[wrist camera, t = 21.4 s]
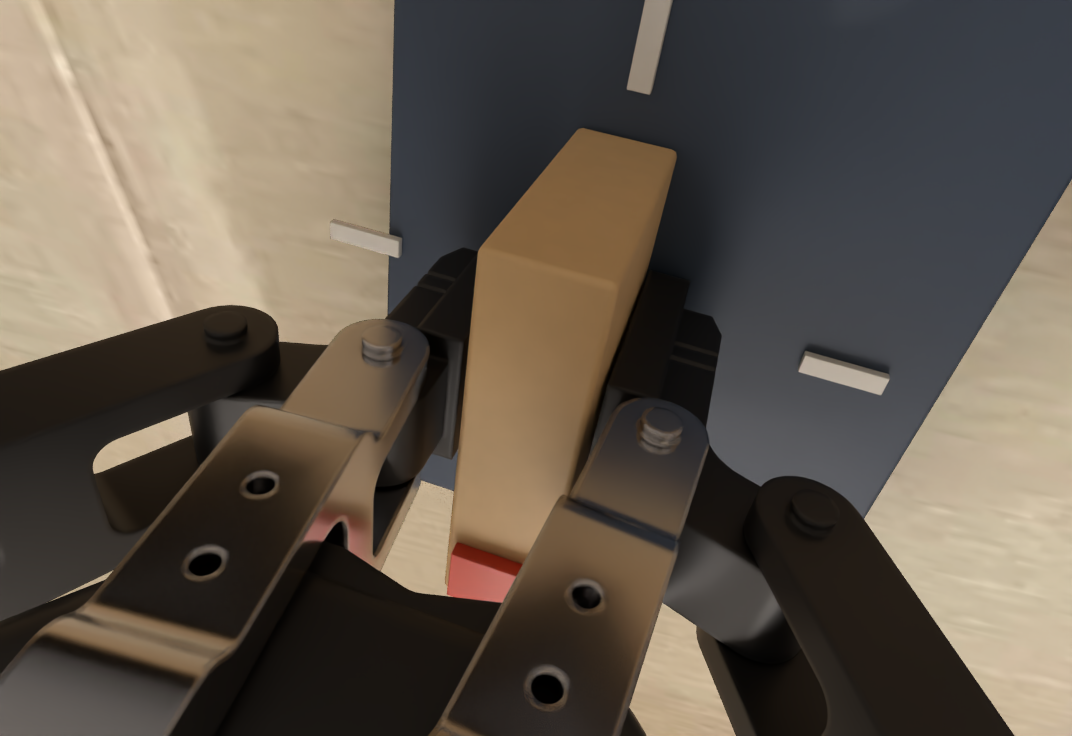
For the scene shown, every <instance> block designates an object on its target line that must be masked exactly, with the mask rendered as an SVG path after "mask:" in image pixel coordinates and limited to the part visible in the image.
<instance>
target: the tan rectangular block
mask: <svg viewBox="0 0 1072 736" xmlns="http://www.w3.org/2000/svg"><path fill="white" fill-rule="evenodd" d="M676 159H677V155H676V152H675V151H674V150H672V149H668V148H664V147H659V146H655V145H651V144H647V143H643V142H639V141H635V140H630V139H626V138H622V137H618V136H614V135H610V134H606V133H601V132H597V131H593V130H589V129H585V128H580V129H578V130H577V131H576V132H575V134H574V135H573V136H572V137H571V138H570V140H569V141H568V142H567V143H566V144H565V146H564V147H563V148H562V149H561V150H560V152H559V153H558V154H557V155H556V156H555V158H554V159H553V160H552V161H551V163H550V164H549V165H548V166H547V167H546V169H545V170H544V171H543V172H542V173H541V175H540V176H539V177H538V178H537V179H536V181H535V182H534V183H533V184H532V185H531V187H530V188H529V189H528V190H527V191H526V193H525V194H524V195H523V196H522V198H521V199H520V200H519V201H518V202H517V204H516V205H515V206H514V207H513V208H512V210H511V211H510V212H509V213H508V214H507V216H506V217H505V218H504V219H503V220H502V222H501V223H500V224H499V225H498V227H497V228H496V229H495V230H494V231H493V233H492V234H491V235H490V236H489V237H488V239H487V240H486V241H485V242H484V243H483V245H482V246H481V247H480V249H479V251H478V257H477V267H476V277H475V287H474V297H473V307H472V317H471V327H470V337H469V346H468V356H467V366H466V376H465V386H464V396H463V406H462V416H461V426H460V436H459V446H458V456H457V466H456V476H455V486H454V496H453V506H452V516H451V526H450V536H449V546H448V556H447V566H446V576H445V584H446V585H447V586H448V588H447V595H449V596H452V597H457V598H466V599H475V600H483V601H492V602H501V603H502V602H503V600H504V598H505V596H506V594H507V593H508V591H509V589H510V587H511V585H512V583H513V581H514V580H515V578H516V576H517V574H518V572H519V570H520V568H521V566H522V565H523V563H524V561H525V559H526V557H527V555H528V553H529V551H530V550H531V548H532V546H533V544H534V542H535V540H536V538H537V536H538V535H539V533H540V531H541V529H542V527H543V525H544V523H545V522H546V520H547V518H548V516H549V514H550V512H551V510H552V508H553V507H554V505H555V503H556V501H557V500H558V498H559V497H560V496H561V495H562V494H564V495H566V496H569V495H570V493H571V491H572V489H573V487H574V485H575V483H576V482H577V480H578V478H579V476H580V474H581V472H582V470H583V468H584V466H585V464H586V462H587V460H588V458H589V454H590V450H591V446H592V442H593V438H594V434H595V430H596V426H597V423H598V419H599V415H600V411H601V407H602V403H603V399H604V395H605V391H606V388H607V384H608V381H609V379H610V376H611V373H612V371H613V368H614V365H615V363H616V360H617V357H618V355H619V352H620V349H621V346H622V344H623V341H624V338H625V336H626V333H627V330H628V328H629V325H630V322H631V320H632V317H633V314H634V312H635V309H636V306H637V304H638V301H639V298H640V296H641V293H642V289H643V285H644V281H645V278H646V274H647V270H648V266H649V262H650V258H651V255H652V251H653V247H654V243H655V239H656V235H657V232H658V228H659V224H660V220H661V216H662V212H663V209H664V205H665V201H666V197H667V193H668V189H669V186H670V182H671V178H672V174H673V170H674V166H675V163H676Z"/></svg>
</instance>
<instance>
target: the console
mask: <svg viewBox="0 0 1072 736" xmlns="http://www.w3.org/2000/svg"><path fill="white" fill-rule="evenodd" d="M580 128H585V129H589V130H593V131H597V132H601V133H606V134H610V135H614V136H618V137H622V138H626V139H630V140H635V141H639V142H643V143H647V144H651V145H655V146H659V147H664V148H668V149H672V150H674V151H675V152H676V155H677V159H676V163H675V166H674V170H673V174H672V178H671V182H670V186H669V189H668V193H667V197H666V201H665V205H664V209H663V212H662V216H661V220H660V224H659V228H658V232H657V235H656V239H655V243H654V247H653V251H652V255H651V258H650V262H649V266H648V270H647V274H646V278H645V281H644V285H645V282H646V279H647V277H648V274H649V272H650V270H652V271H656V272H659V273H663V274H667V275H670V276H674V277H678V278H681V279H685V280H689V281H691V282H690V285H689V289H688V293H687V297H686V300H685V304H684V308H683V309H687V310H691V311H694V312H698V313H701V314H705V315H709V316H712V317H713V318H714V320H715V322H716V325H717V327H718V329H719V331H720V333H721V335H722V339H721V344H720V350H719V355H718V362H717V368H716V371H715V372H716V373H715V379H714V385H713V391H712V396H711V402H710V408H709V414H708V419H707V425H706V430H707V432H708V435H709V441H710V446H711V448H712V449H713V451H714V452H715V454H716V455H717V456H718V457H719V458H720V459H721V460H722V461H723V462H724V463H725V464H726V465H727V466H728V467H730V468H731V469H732V470H733V471H735V472H737V473H738V474H740V475H741V476H743V477H745V478H747V479H748V480H750V481H752V482H754V483H755V484H757V485H759V486H762V485H763V484H764V483H765V482H767V481H768V480H770V479H772V478H776V477H780V476H799V477H805V478H808V479H812V480H815V481H818V482H820V483H822V484H824V485H826V486H828V487H830V488H832V489H834V490H835V491H837V492H838V493H840V494H841V495H842V496H844V497H845V498H846V499H847V500H848V501H849V502H850V503H851V504H852V505H853V506H854V507H855V508H856V509H857V511H858V512H859V513H860V515H861V516H862V518H863V519H864V518H865V516H866V515H867V513H868V511H869V510H870V508H871V506H872V505H873V503H874V501H875V500H876V498H877V497H878V495H879V493H880V492H881V490H882V488H883V487H884V485H885V483H886V482H887V480H888V479H889V477H890V475H891V474H892V472H893V470H894V469H895V467H896V466H897V464H898V462H899V461H900V459H901V457H902V456H903V454H904V452H905V451H906V449H907V448H908V446H909V444H910V443H911V441H912V439H913V438H914V436H915V434H916V433H917V431H918V430H919V428H920V426H921V425H922V423H923V421H924V420H925V418H926V417H927V415H928V413H929V412H930V410H931V408H932V407H933V405H934V403H935V402H936V400H937V399H938V397H939V395H940V394H941V392H942V390H943V389H944V387H945V385H946V384H947V382H948V381H949V379H950V377H951V376H952V374H953V372H954V371H955V369H956V367H957V366H958V364H959V363H960V361H961V359H962V358H963V356H964V354H965V353H966V351H967V350H968V348H969V346H970V345H971V343H972V341H973V340H974V338H975V336H976V335H977V333H978V332H979V330H980V328H981V327H982V325H983V323H984V322H985V320H986V318H987V317H988V315H989V314H990V312H991V310H992V309H993V307H994V305H995V304H996V302H997V301H998V299H999V297H1000V296H1001V294H1002V292H1003V291H1004V289H1005V287H1006V286H1007V284H1008V283H1009V281H1010V279H1011V278H1012V276H1013V274H1014V273H1015V271H1016V269H1017V268H1018V266H1019V265H1020V263H1021V261H1022V260H1023V258H1024V256H1025V255H1026V253H1027V252H1028V250H1029V248H1030V247H1031V245H1032V243H1033V242H1034V240H1035V238H1036V237H1037V235H1038V234H1039V232H1040V230H1041V229H1042V227H1043V225H1044V224H1045V222H1046V220H1047V219H1048V217H1049V216H1050V214H1051V212H1052V211H1053V209H1054V207H1055V206H1056V204H1057V203H1058V201H1059V199H1060V198H1061V196H1062V194H1063V193H1064V191H1065V189H1066V188H1067V186H1068V185H1069V183H1070V181H1071V180H1072V0H395V6H394V50H393V95H392V140H391V185H390V229H389V234H386V233H382V232H379V231H375V230H372V229H368V228H365V227H361V226H357V225H354V224H350V223H347V222H343V221H340V220H336V219H333V220H332V221H331V222H330V238H331V239H333V240H336V241H340V242H344V243H347V244H351V245H354V246H358V247H361V248H365V249H368V250H372V251H375V252H379V253H382V254H386V255H389V274H388V315H389V314H390V313H391V312H392V311H393V309H394V308H395V307H396V306H397V305H398V304H399V303H400V302H401V301H402V299H403V298H404V297H405V296H406V295H407V294H408V293H409V292H410V291H411V289H412V288H413V287H414V286H417V284H418V282H419V281H420V279H421V278H422V277H423V276H424V275H425V274H428V271H429V269H430V268H431V267H432V266H433V265H434V264H435V263H436V262H437V261H438V259H439V258H440V257H442V256H444V255H446V254H449V253H451V252H453V251H456V250H458V249H460V248H463V247H464V248H467V249H471V250H475V251H479V249H480V247H481V246H482V245H483V243H484V242H485V241H486V240H487V239H488V237H489V236H490V235H491V234H492V233H493V231H494V230H495V229H496V228H497V227H498V225H499V224H500V223H501V222H502V220H503V219H504V218H505V217H506V216H507V214H508V213H509V212H510V211H511V210H512V208H513V207H514V206H515V205H516V204H517V202H518V201H519V200H520V199H521V198H522V196H523V195H524V194H525V193H526V191H527V190H528V189H529V188H530V187H531V185H532V184H533V183H534V182H535V181H536V179H537V178H538V177H539V176H540V175H541V173H542V172H543V171H544V170H545V169H546V167H547V166H548V165H549V164H550V163H551V161H552V160H553V159H554V158H555V156H556V155H557V154H558V153H559V152H560V150H561V149H562V148H563V147H564V146H565V144H566V143H567V142H568V141H569V140H570V138H571V137H572V136H573V135H574V134H575V132H576V131H577V130H578V129H580ZM644 285H643V288H644ZM642 290H643V289H642ZM457 456H458V450H457V452H456V453H455V455H454V457H453V459H452V460H450V459H447V458H443V457H440V456H437V455H434V454H431V456H430V458H429V459H428V461H427V462H426V464H425V466H424V467H423V469H422V470H421V480H422V481H425V482H428V483H431V484H434V485H437V486H440V487H443V488H446V489H449V490H452V491H454V486H455V476H456V466H457Z"/></svg>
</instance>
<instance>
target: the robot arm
mask: <svg viewBox="0 0 1072 736" xmlns="http://www.w3.org/2000/svg"><path fill="white" fill-rule="evenodd" d="M477 257H478V251H475V250H471V249H467V248H464V247H463V248H460V249H458V250H456V251H453V252H451V253H449V254H446V255H444V256H442V257H440V258H439V259H438V261H437V262H436V263H435V264H434V265H433V266H432V267H431V268H430V269H429V271H428V274H425V275H424V276H423V277H422V278H421V279H420V281H419V282H418V284H417V286H414V287H413V288H412V289H411V291H410V292H409V293H408V294H407V295H406V296H405V297H404V298H403V299H402V301H401V302H400V303H399V304H398V305H397V306H396V307H395V308H394V309H393V311H392V312H391V313H390V314H389V315H388V316H387V317H386V318H385V319H371V320H364V321H359V322H356V323H353V324H351V325H349V326H347V327H345V328H344V329H342V330H341V331H340V332H339V333H338V334H337V335H336V336H335V338H334V339H333V340H332V341H331V343H330V344H329V345H314V344H302V343H289V342H279V335H278V326H277V324H276V322H275V321H274V319H273V318H272V317H271V316H269V315H268V314H266V313H264V312H262V311H260V310H258V309H255V308H251V307H246V306H236V305H227V306H217V307H211V308H207V309H203V310H200V311H196V312H193V313H190V314H186V315H183V316H180V317H177V318H173V319H170V320H167V321H163V322H160V323H157V324H153V325H150V326H147V327H144V328H140V329H137V330H134V331H130V332H127V333H124V334H120V335H117V336H114V337H111V338H107V339H104V340H101V341H97V342H94V343H91V344H87V345H84V346H81V347H77V348H74V349H71V350H68V351H64V352H61V353H58V354H54V355H51V356H48V357H44V358H41V359H38V360H35V361H31V362H28V363H25V364H21V365H18V366H15V367H11V368H8V369H5V370H2V371H0V736H646V734H645V732H644V730H643V729H642V727H641V725H640V724H639V722H638V720H637V719H636V717H635V715H634V714H633V712H632V711H631V710H630V708H629V706H630V703H631V699H632V696H633V693H634V690H635V687H636V684H637V680H638V677H639V674H640V671H641V668H642V665H643V662H644V658H645V655H646V652H647V649H648V646H649V643H650V639H651V636H652V633H653V630H654V627H655V624H656V620H657V617H658V614H659V611H660V608H661V605H662V603H664V604H665V605H667V606H668V607H670V608H671V609H673V610H674V611H676V612H677V613H679V614H680V615H682V616H683V617H685V618H686V619H688V620H689V621H690V622H692V623H693V624H695V625H696V626H697V630H696V633H697V640H698V643H699V646H700V649H701V651H702V653H703V656H704V658H705V661H706V663H707V666H708V668H709V671H710V673H711V675H712V678H713V680H714V683H715V685H716V688H717V690H718V693H719V695H720V698H721V700H722V702H723V705H724V707H725V710H726V712H727V715H728V717H729V720H730V722H731V724H732V727H733V729H734V732H735V734H736V736H1014V734H1013V733H1012V731H1011V730H1010V729H1009V727H1008V726H1007V724H1006V723H1005V721H1004V720H1003V719H1002V717H1001V716H1000V714H999V713H998V711H997V710H996V709H995V707H994V706H993V704H992V703H991V701H990V700H989V698H988V697H987V696H986V694H985V693H984V691H983V690H982V688H981V687H980V686H979V684H978V683H977V681H976V680H975V678H974V677H973V675H972V674H971V673H970V671H969V670H968V668H967V667H966V665H965V664H964V663H963V661H962V660H961V658H960V657H959V655H958V654H957V652H956V651H955V650H954V648H953V647H952V645H951V644H950V642H949V641H948V640H947V638H946V637H945V635H944V634H943V632H942V631H941V630H940V628H939V627H938V625H937V624H936V622H935V621H934V619H933V618H932V617H931V615H930V614H929V612H928V611H927V609H926V608H925V607H924V605H923V604H922V602H921V601H920V599H919V598H918V596H917V595H916V594H915V592H914V591H913V589H912V588H911V586H910V585H909V584H908V582H907V581H906V579H905V578H904V576H903V575H902V574H901V572H900V571H899V569H898V568H897V566H896V565H895V563H894V562H893V561H892V559H891V558H890V556H889V555H888V553H887V552H886V551H885V549H884V548H883V546H882V545H881V543H880V542H879V540H878V539H877V538H876V536H875V535H874V533H873V532H872V530H871V529H870V528H869V526H868V525H867V523H866V522H865V520H864V519H863V518H862V516H861V515H860V513H859V512H858V511H857V509H856V508H855V507H854V506H853V505H852V504H851V503H850V502H849V501H848V500H847V499H846V498H845V497H844V496H842V495H841V494H840V493H838V492H837V491H835V490H834V489H832V488H830V487H828V486H826V485H824V484H822V483H820V482H818V481H815V480H812V479H808V478H805V477H799V476H780V477H776V478H772V479H770V480H768V481H767V482H765V483H764V484H763V485H762V486H759V485H757V484H755V483H754V482H752V481H750V480H748V479H747V478H745V477H743V476H741V475H740V474H738V473H737V472H735V471H733V470H732V469H731V468H730V467H728V466H727V465H726V464H725V463H724V462H723V461H722V460H721V459H720V458H719V457H718V456H717V455H716V454H715V452H714V451H713V449H712V448H711V446H710V441H709V435H708V432H707V430H706V425H707V419H708V414H709V408H710V402H711V396H712V391H713V385H714V379H715V373H716V372H715V371H716V368H717V362H718V355H719V350H720V344H721V339H722V335H721V333H720V331H719V329H718V327H717V325H716V322H715V320H714V318H713V317H712V316H709V315H705V314H701V313H698V312H694V311H691V310H687V309H683V308H684V304H685V300H686V297H687V293H688V289H689V285H690V282H691V281H689V280H685V279H681V278H678V277H674V276H670V275H667V274H663V273H659V272H656V271H652V270H650V272H649V274H648V277H647V279H646V282H645V285H644V288H643V290H642V293H641V296H640V298H639V301H638V304H637V306H636V309H635V312H634V314H633V317H632V320H631V322H630V325H629V328H628V330H627V333H626V336H625V338H624V341H623V344H622V346H621V349H620V352H619V355H618V357H617V360H616V363H615V365H614V368H613V371H612V373H611V376H610V379H609V381H608V384H607V388H606V391H605V395H604V399H603V403H602V407H601V411H600V415H599V419H598V423H597V426H596V430H595V434H594V438H593V442H592V446H591V450H590V454H589V458H588V460H587V462H586V464H585V466H584V468H583V470H582V472H581V474H580V476H579V478H578V480H577V482H576V483H575V485H574V487H573V489H572V491H571V493H570V495H569V496H566V495H564V494H562V495H561V496H560V497H559V498H558V500H557V501H556V503H555V505H554V507H553V508H552V510H551V512H550V514H549V516H548V518H547V520H546V522H545V523H544V525H543V527H542V529H541V531H540V533H539V535H538V536H537V538H536V540H535V542H534V544H533V546H532V548H531V550H530V551H529V553H528V555H527V557H526V559H525V561H524V563H523V565H522V566H521V568H520V570H519V572H518V574H517V576H516V578H515V580H514V581H513V583H512V585H511V587H510V589H509V591H508V593H507V594H506V596H505V598H504V600H503V602H502V603H501V602H492V601H483V600H475V599H466V598H457V597H448V596H439V595H430V594H421V593H416V592H413V591H410V590H408V589H406V588H404V587H403V586H401V585H400V584H398V583H397V582H395V581H394V580H392V579H391V578H389V577H388V576H386V575H385V574H383V573H382V572H381V569H382V567H383V565H384V563H385V561H386V559H387V556H388V554H389V552H390V550H391V548H392V546H393V543H394V541H395V539H396V537H397V535H398V533H399V530H400V528H401V526H402V524H403V522H404V520H405V517H406V515H407V513H408V511H409V509H410V507H411V504H412V502H413V500H414V498H415V496H416V494H417V491H418V489H419V486H420V482H421V470H422V469H423V467H424V466H425V464H426V462H427V461H428V459H429V458H430V456H431V454H434V455H437V456H440V457H443V458H447V459H450V460H452V459H453V457H454V455H455V453H456V452H457V450H458V446H459V436H460V426H461V416H462V406H463V396H464V386H465V376H466V366H467V356H468V346H469V337H470V327H471V317H472V307H473V297H474V287H475V277H476V267H477ZM186 412H188V416H189V421H190V426H191V432H192V436H189V437H187V438H184V439H182V440H179V441H177V442H174V443H172V444H169V445H167V446H164V447H162V448H160V449H157V450H155V451H152V452H150V453H147V454H145V455H142V456H140V457H137V458H135V459H132V460H130V461H128V462H125V463H123V464H120V465H118V466H115V467H113V468H110V469H108V470H105V471H103V472H100V473H97V474H94V473H93V462H94V459H95V457H96V455H97V454H98V453H99V451H100V450H101V449H102V448H103V447H105V446H106V445H107V444H109V443H110V442H112V441H114V440H116V439H118V438H121V437H123V436H126V435H129V434H131V433H134V432H136V431H139V430H142V429H144V428H147V427H149V426H152V425H155V424H157V423H160V422H162V421H165V420H168V419H170V418H173V417H175V416H178V415H181V414H183V413H186ZM112 570H114V571H113V572H112V573H111V574H110V575H109V577H108V578H107V579H106V580H104V581H101V582H99V583H96V584H94V585H91V586H88V587H86V588H83V589H81V590H78V591H76V592H73V593H71V594H68V595H65V596H63V597H60V598H58V599H55V598H57V597H59V596H61V595H63V594H65V593H67V592H69V591H71V590H73V589H75V588H78V587H80V586H82V585H84V584H86V583H88V582H90V581H92V580H94V579H96V578H98V577H100V576H102V575H104V574H106V573H108V572H110V571H112ZM53 599H55V600H53ZM51 600H53V601H51ZM49 601H50V602H49ZM47 602H48V603H47Z"/></svg>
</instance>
